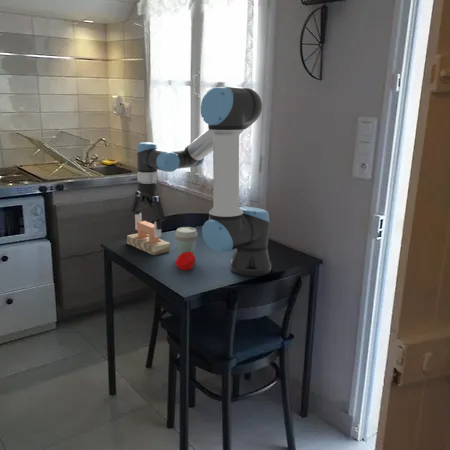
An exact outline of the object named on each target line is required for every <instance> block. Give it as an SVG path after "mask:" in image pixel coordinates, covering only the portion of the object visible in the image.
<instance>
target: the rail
mask: <svg viewBox="0 0 450 450" xmlns="http://www.w3.org/2000/svg"><path fill="white" fill-rule="evenodd" d="M126 244H128V245H130V246H133V247H134V248H136V249H139V250H141V251H142V252H143V251H144V252H146V253H148V254H150V255H152V256H156V255H160V254H164V253H165V254H166V253H169V252H171V243H170V242H169V241H165V240H164V239H161V238H159V242H157V243H153V244H150V243H149V233H147V237H146V238H141V239H138V232H137V233H132V234H129V235H127V236H126Z"/></svg>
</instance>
